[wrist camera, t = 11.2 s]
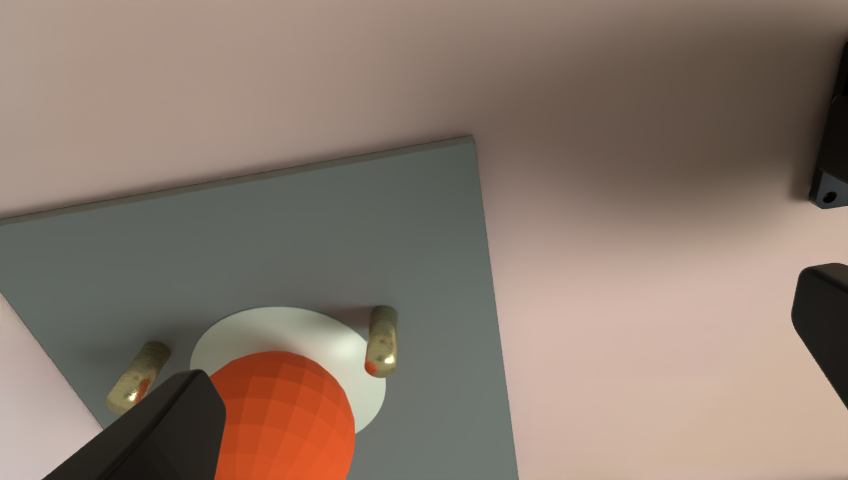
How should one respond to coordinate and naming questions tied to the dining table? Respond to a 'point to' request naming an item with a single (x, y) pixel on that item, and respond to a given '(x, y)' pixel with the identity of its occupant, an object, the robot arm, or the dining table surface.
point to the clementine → (283, 420)
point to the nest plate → (291, 295)
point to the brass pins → (157, 354)
